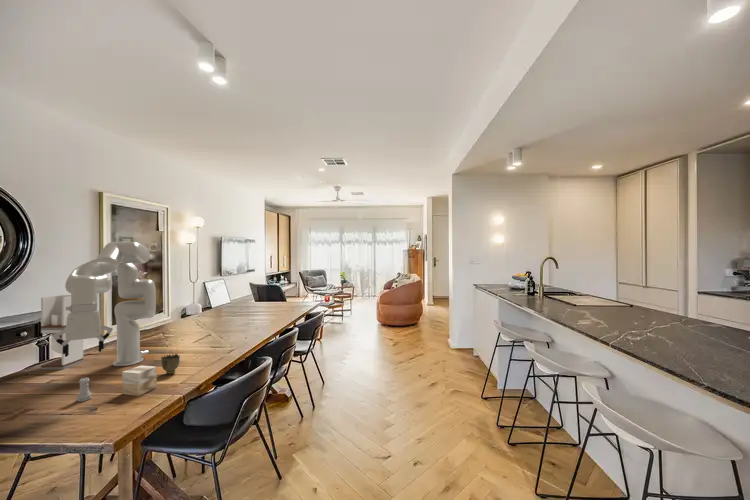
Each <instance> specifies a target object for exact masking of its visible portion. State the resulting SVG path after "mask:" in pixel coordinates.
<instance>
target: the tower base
mask: <svg viewBox="0 0 750 500" xmlns="http://www.w3.org/2000/svg"><path fill="white" fill-rule="evenodd" d="M157 387H158V386H157V377H156V378H154V379H152V380H149V381H147V382H144V383H142V384H140V385H134V384H125V383H122V394H123V395H127V396H128V395H129V396H135V397H139V396H141V395H143V394H146V393H149V392H150V391H153V390H155V389H157Z"/></svg>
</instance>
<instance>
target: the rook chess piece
mask: <svg viewBox="0 0 750 500" xmlns="http://www.w3.org/2000/svg"><path fill="white" fill-rule="evenodd" d="M89 382H90V378H89V377H82V378H80V379H79V381H78V384H79V393H78V394H77V396H76V401H77V402H79V403H80V402H81V403H82V402H87V401H89V400H91V399H92V398H93V397H92V392H91V391H90V389H89V385H90V384H89Z"/></svg>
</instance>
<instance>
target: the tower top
mask: <svg viewBox="0 0 750 500" xmlns="http://www.w3.org/2000/svg"><path fill="white" fill-rule="evenodd" d="M121 375H122V380H121V383H122V384H123V383H125V384H134V385H140V384H142V383H144V382H147V381H149V380H152V379H154V378H156V379H157V366H152V365H138V366H135V367H132V368H130V369H127V370H124V371H122V374H121Z"/></svg>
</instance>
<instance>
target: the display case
mask: <svg viewBox="0 0 750 500" xmlns="http://www.w3.org/2000/svg"><path fill="white" fill-rule="evenodd" d="M69 306H71V294H59V295H58V294H57V295H52V296H51V295H50V296H45V297H44V296H43V297H40V334H50V337H51V339H50V341H51V342H50V343H51V344H50V347H51V350H52V351H53V352H55V353H57V354H61V358H60V359H59V358H58V359H56V360H54V361H51V362H48V363H45V364H42V365H40V371H51V370H59V371H60V370H66V369H68V368H71V367H73V366H76V365H79V364H82V363H84V339H80V340H70V341H69V342H68V345H69V355H68V356H67V357H65V354H63V346H62V345H61V344H59V343H57V342H56V340H55V339H54V338H53V335H54V334H56V333H58V332H60V331H62V330H64V329H66V321H67V316H68V314H69V313H71V311H70V310H66V307H69ZM65 334H66V333H64V334H62V335H60V336H59V337H60V339H62V340H64V341H65V340H66V336H65Z"/></svg>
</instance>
